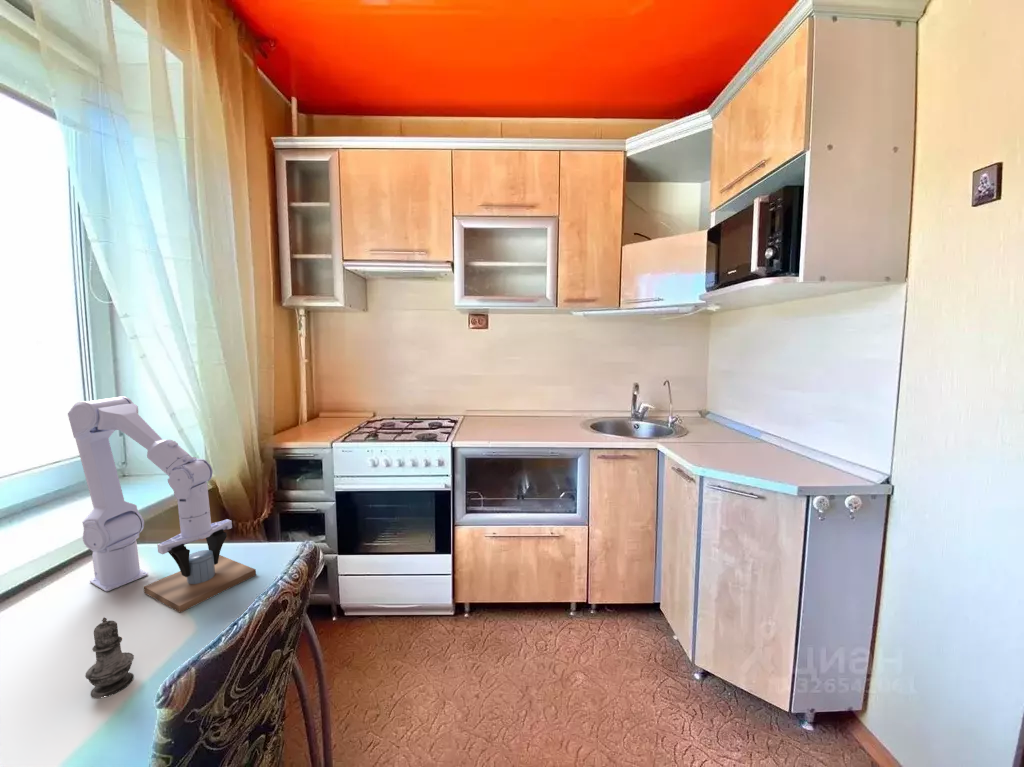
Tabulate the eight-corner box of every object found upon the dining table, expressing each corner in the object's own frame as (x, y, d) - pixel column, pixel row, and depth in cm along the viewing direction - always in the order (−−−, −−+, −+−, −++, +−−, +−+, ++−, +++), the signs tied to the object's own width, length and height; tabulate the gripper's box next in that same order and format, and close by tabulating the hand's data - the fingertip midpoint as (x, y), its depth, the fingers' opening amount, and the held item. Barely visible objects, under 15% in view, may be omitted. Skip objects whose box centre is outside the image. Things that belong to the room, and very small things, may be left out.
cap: (184, 586, 97) (181, 563, 96) (191, 574, 102) (189, 552, 101) (211, 580, 99) (209, 558, 98) (217, 569, 104) (215, 548, 103)
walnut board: (144, 592, 97) (142, 574, 97) (219, 560, 111) (217, 543, 111) (180, 612, 90) (177, 592, 89) (256, 575, 104) (254, 557, 103)
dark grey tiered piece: (106, 702, 67) (97, 631, 66) (78, 697, 69) (68, 627, 67) (145, 674, 73) (137, 608, 72) (118, 669, 74) (110, 604, 73)
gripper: (166, 529, 90) (173, 589, 92) (237, 505, 103) (242, 558, 105) (150, 523, 94) (156, 581, 95) (220, 500, 106) (225, 552, 108)
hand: (200, 569), depth 100 cm, fingers closed on cap, 5 cm apart
